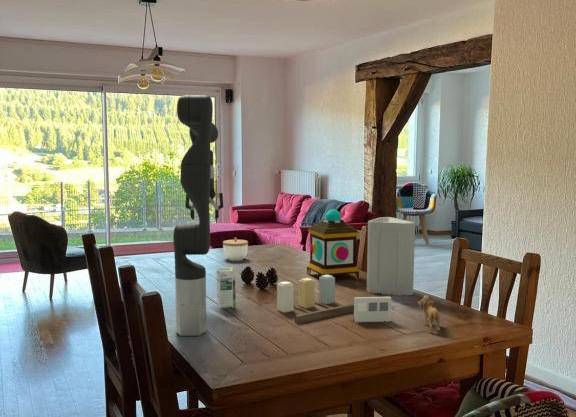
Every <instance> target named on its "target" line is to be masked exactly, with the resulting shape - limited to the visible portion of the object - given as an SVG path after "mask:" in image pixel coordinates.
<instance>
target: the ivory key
mask: <svg viewBox="0 0 576 417" xmlns="http://www.w3.org/2000/svg"><path fill="white" fill-rule="evenodd" d="M276 288H277V289H276V310H277V311H279V312H281V313H289V312H294V308H293V305H294V300H295V299H294V297H295V296H294V293H295V292H294V284H293V283H292V282H290V281H279V282H278V283H276Z"/></svg>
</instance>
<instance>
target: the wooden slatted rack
mask: <svg viewBox="0 0 576 417" xmlns="http://www.w3.org/2000/svg"><path fill="white" fill-rule="evenodd" d="M316 305H317V306H319V307H323V308H324V309H320V310H316V311H310V310H307V309H306V308H303V307H301V306H299V305H298V306H297V305H295V304H293V309H294V310H295V309H296V310H297V311H301V312H303V313H301V314H296V315H294V323H295V324H297V325H298V324H303V323H307V322H311V321H317V320H321V319H325V318H331V317H334V316H338V315H339V316H340V315H344V314H349V313H354V303H350V304H345V305H339V306H335V307H332V306H329V305H328V304H324V303H321V302H319V301H315V306H316Z"/></svg>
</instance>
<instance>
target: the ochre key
mask: <svg viewBox="0 0 576 417" xmlns="http://www.w3.org/2000/svg"><path fill="white" fill-rule="evenodd" d="M315 282H316V281H315V280H313V279H312V278H310V277H305V278H300V279H299V280H298V307H300V308H303V309H309V308H313V307H315V306H316V304H315V299H316V298H315V296H316V295H315V294H316V290H315V286H316V283H315Z"/></svg>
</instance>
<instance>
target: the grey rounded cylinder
mask: <svg viewBox="0 0 576 417" xmlns="http://www.w3.org/2000/svg"><path fill="white" fill-rule="evenodd" d="M335 283H336V277H335V276H334V275H322V276H321V275H320V276H319V277H318V302H319V303H321V304H324V305H330V304H334V303H335V301H336V300H335V298H336V297H335V296H336V295H335V294H336V293H335V292H336V288H335V287H336V284H335Z"/></svg>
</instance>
